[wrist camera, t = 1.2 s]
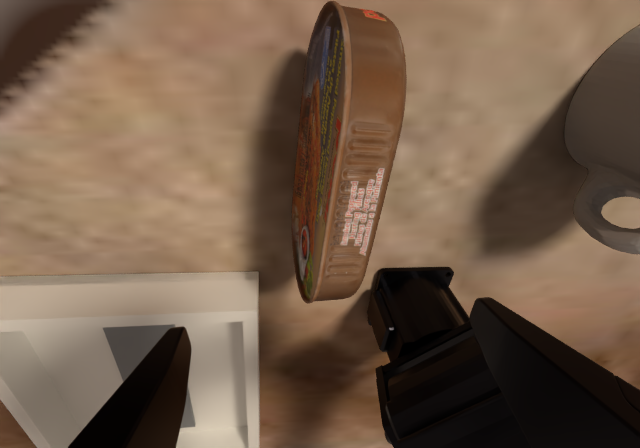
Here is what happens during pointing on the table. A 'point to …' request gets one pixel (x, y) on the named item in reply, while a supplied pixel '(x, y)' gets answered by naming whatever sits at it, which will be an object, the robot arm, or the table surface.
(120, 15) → the table surface
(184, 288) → the tray
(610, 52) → the coffee mug
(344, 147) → the tin
